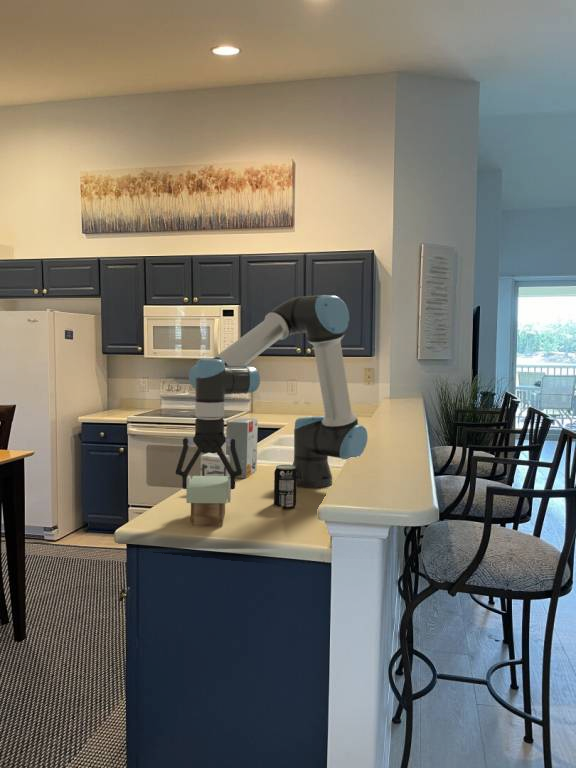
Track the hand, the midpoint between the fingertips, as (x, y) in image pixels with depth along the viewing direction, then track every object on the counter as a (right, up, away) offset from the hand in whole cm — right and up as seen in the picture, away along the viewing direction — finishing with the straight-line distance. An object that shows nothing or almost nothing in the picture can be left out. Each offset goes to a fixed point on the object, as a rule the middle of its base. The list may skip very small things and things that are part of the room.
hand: (208, 501), depth 165 cm
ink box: (-3, -4, +36) cm, 36 cm away
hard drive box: (+4, -2, +63) cm, 63 cm away
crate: (0, -6, 0) cm, 6 cm away
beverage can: (+20, -5, +18) cm, 27 cm away
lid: (0, +1, 0) cm, 1 cm away
